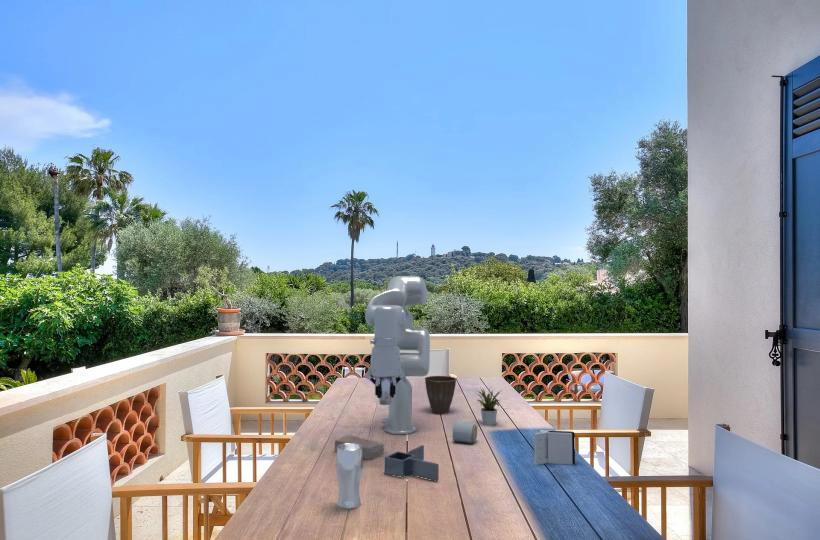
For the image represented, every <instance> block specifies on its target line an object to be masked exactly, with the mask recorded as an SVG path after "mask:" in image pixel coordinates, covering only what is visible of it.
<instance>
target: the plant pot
mask: <svg viewBox="0 0 820 540" xmlns="http://www.w3.org/2000/svg"><path fill="white" fill-rule="evenodd" d="M424 381H425V382H424V383H425V388H426V389H425V391H426V395H427V399H428V402H429V406H430V409H431V412H432V413H433V414H435V413H436V415H445V413H446V414H448V413H449V411H450V408H451V405H452V402H453V398H454V396H455V395H454V394H455V389H456V384H457V378H456V377H453V376H447V375H431V376H430V375H429V376H426V377H425V378H424Z"/></svg>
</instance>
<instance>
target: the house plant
mask: <svg viewBox="0 0 820 540" xmlns="http://www.w3.org/2000/svg"><path fill="white" fill-rule="evenodd" d="M494 389H495V388H493V389H492V390H491V388H489V389H488V392H489V393H488V394H486V391H485V390H484V388H483V387H481V388H480V391H479V390H478V389H476V392H477V395H478V396H479V398H480V399H477V400H476V402H478V403H480V406H483V407H482V408H480V414H481V419H482V420H481V421H482V424H483V426H487V425H493V426H495V425H496V422H497V414H498V409H497V408H495V407H496V406H498V407H499V408H500V404H499V403H500V399H497V396H499V394H501V392H502V391H503V389H501V390H499V391H498V392H497V393H496V394H495V395H493V394H494V393H493V392H494V391H493V390H494ZM490 390H491V391H490ZM478 393H479V394H478ZM478 403H477V404H478Z"/></svg>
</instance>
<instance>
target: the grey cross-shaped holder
mask: <svg viewBox="0 0 820 540" xmlns="http://www.w3.org/2000/svg"><path fill="white" fill-rule="evenodd" d="M423 460H424V461H423ZM439 467H440V466H439V463H436V462H432V461H426V460H425V445H423V444H422V445H419V446H417V447H415V448H413V449H410V450H409V451H406V452H402V451H394V452H392V453H391V454H388V455H386V456H384V474H385V475H388V474H391V475H390V476H392V475H395V476H394V477H396V476H401V477H404V476H406V477H408V476H410V475H413V476H412V477H415V476H419V477H423V478H427V479H431V480H436V481H438V480H439V475H440V474H439ZM419 477H418V478H419ZM423 478H422V479H423ZM427 479H426V480H427ZM431 480H430V481H431ZM436 481H435V482H436ZM439 481H440V480H439ZM439 481H438V482H439Z"/></svg>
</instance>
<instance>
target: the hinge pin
mask: <svg viewBox="0 0 820 540" xmlns="http://www.w3.org/2000/svg"><path fill="white" fill-rule="evenodd" d="M379 386H380V398H378V399H379V401H378V402H379V403H378V404H379V405H382V406H387V405H388V406H389V404H391V377H380V381H379Z"/></svg>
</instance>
